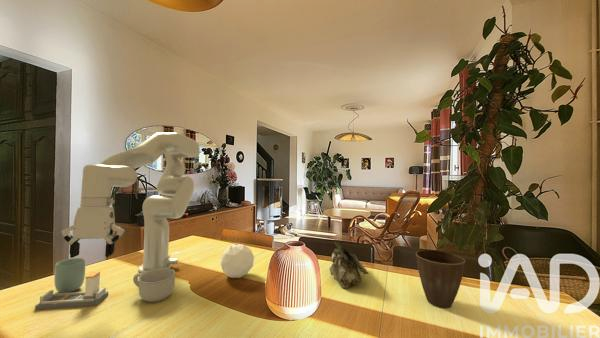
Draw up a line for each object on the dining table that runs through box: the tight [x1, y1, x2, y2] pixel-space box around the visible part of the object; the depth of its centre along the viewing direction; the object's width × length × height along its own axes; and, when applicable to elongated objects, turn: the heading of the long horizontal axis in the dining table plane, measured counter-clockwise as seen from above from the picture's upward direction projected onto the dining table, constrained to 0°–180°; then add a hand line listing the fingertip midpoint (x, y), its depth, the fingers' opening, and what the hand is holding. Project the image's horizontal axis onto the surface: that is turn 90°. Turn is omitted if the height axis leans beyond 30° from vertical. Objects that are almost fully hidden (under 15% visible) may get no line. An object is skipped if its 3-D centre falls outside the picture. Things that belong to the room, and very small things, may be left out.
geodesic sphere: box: [220, 242, 255, 279], centre depth 104 cm, size 14×14×14 cm
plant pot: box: [415, 249, 466, 309], centre depth 87 cm, size 15×15×16 cm
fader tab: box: [83, 271, 101, 299], centre depth 82 cm, size 3×4×7 cm
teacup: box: [132, 268, 176, 303], centre depth 85 cm, size 14×11×8 cm
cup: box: [53, 257, 87, 293], centre depth 88 cm, size 8×8×10 cm
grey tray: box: [34, 287, 109, 311], centre depth 81 cm, size 16×7×3 cm, turn 102°
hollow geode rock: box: [329, 240, 369, 289], centre depth 108 cm, size 28×13×15 cm
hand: (92, 256), depth 81 cm, fingers open, 9 cm apart
